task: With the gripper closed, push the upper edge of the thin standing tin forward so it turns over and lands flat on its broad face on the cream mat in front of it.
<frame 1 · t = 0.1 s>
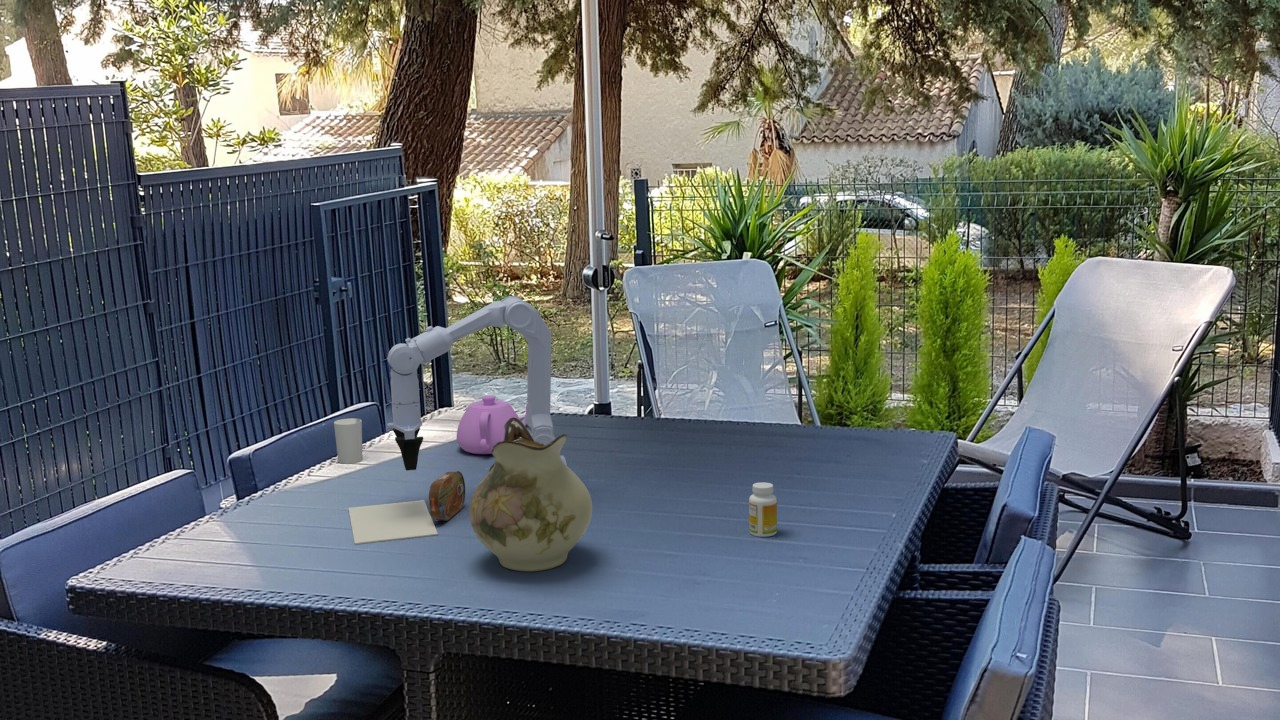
hand: (409, 465, 243), 10 cm above the table, tool pointing down, fingers open, 7 cm apart
mat: (391, 521, 239), on the table
tin: (447, 515, 242), on the table, touching mat
pitcher: (530, 560, 215), on the table
teapot: (500, 449, 295), on the table
supplement bottle: (763, 534, 227), on the table
drinking glass: (350, 461, 287), on the table
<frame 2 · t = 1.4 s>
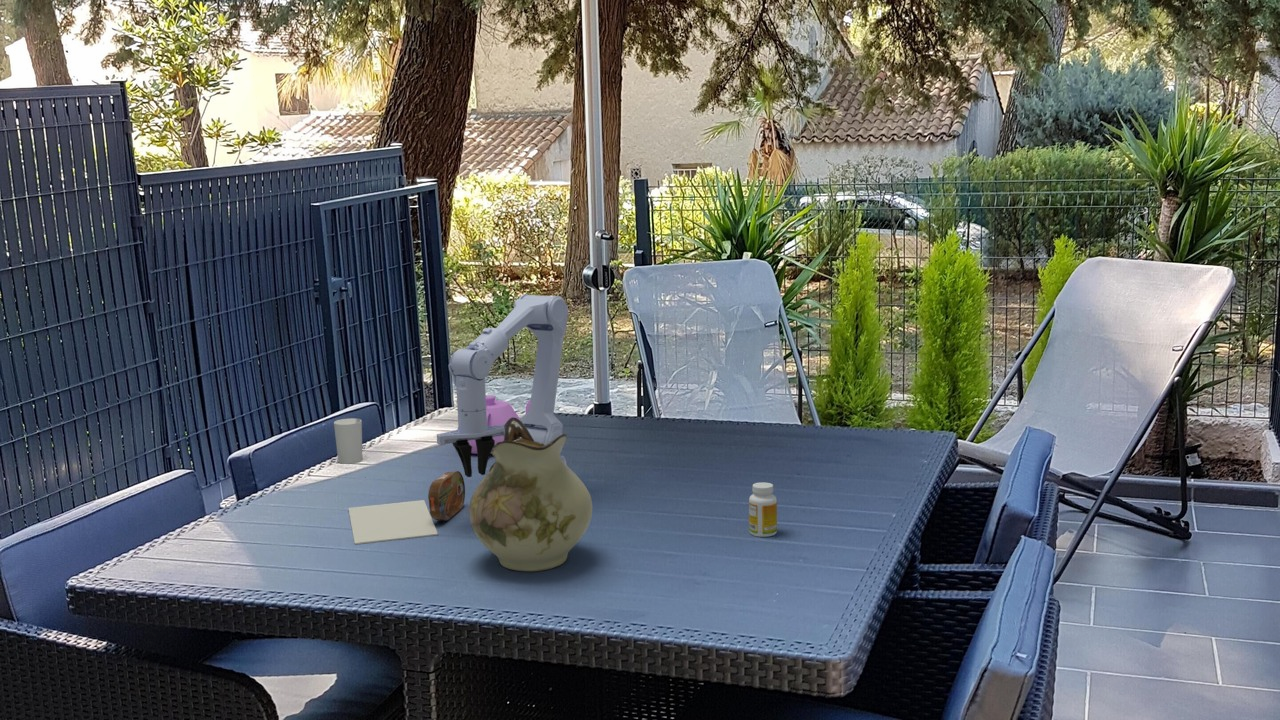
hand: (475, 474, 234), 10 cm above the table, tool pointing down, fingers closed
nothing on the table moved.
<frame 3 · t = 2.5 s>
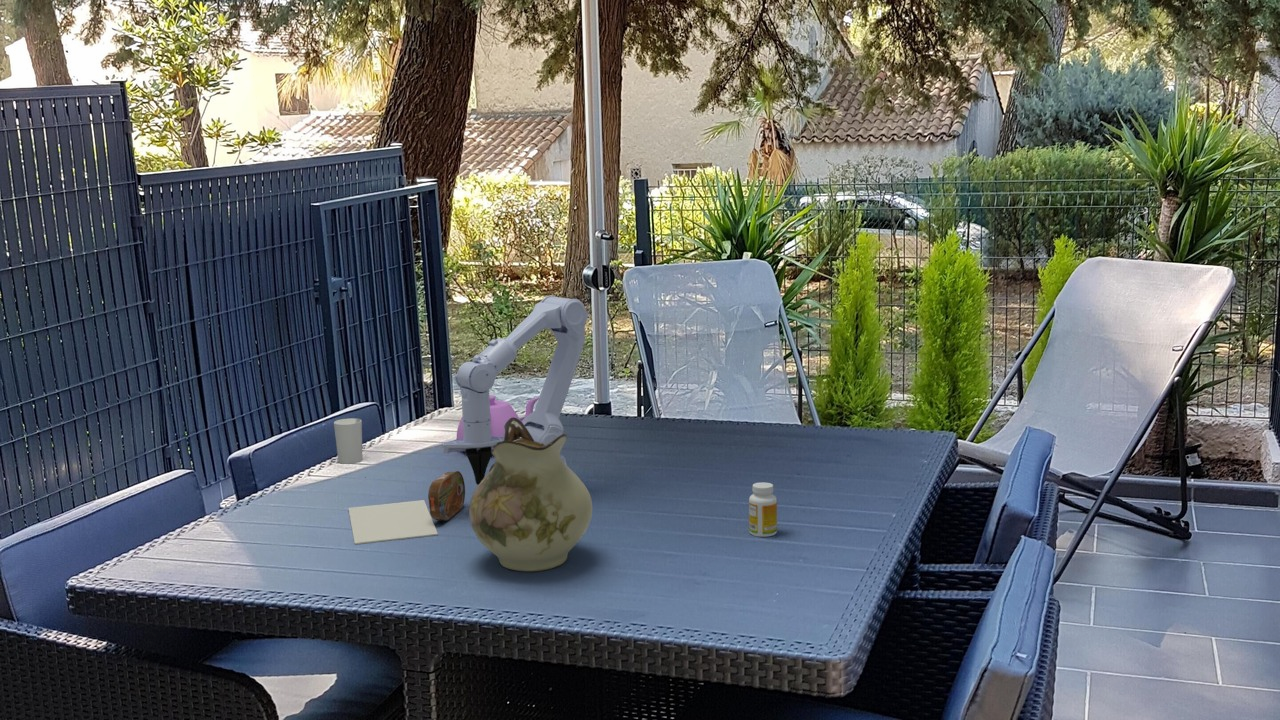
hand: (479, 483, 243), 6 cm above the table, tool pointing down, fingers closed
nothing on the table moved.
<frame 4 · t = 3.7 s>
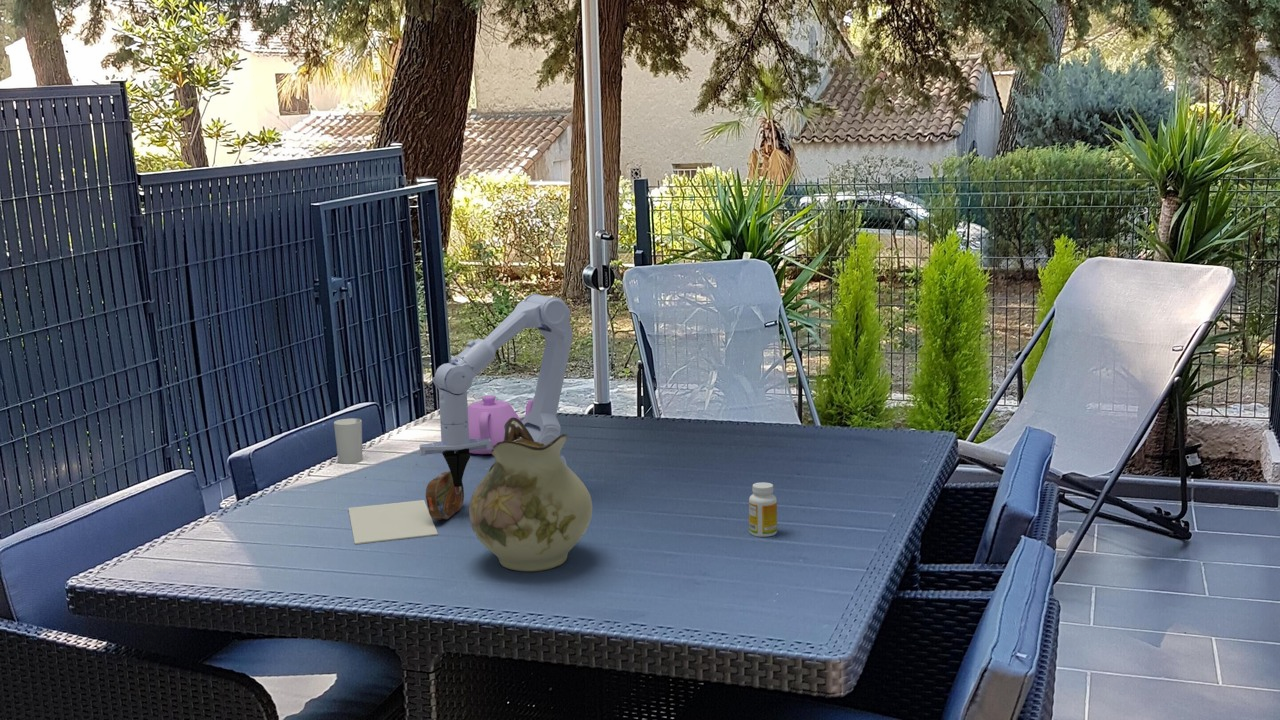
hand: (457, 485, 241), 6 cm above the table, tool pointing down, fingers closed
nothing on the table moved.
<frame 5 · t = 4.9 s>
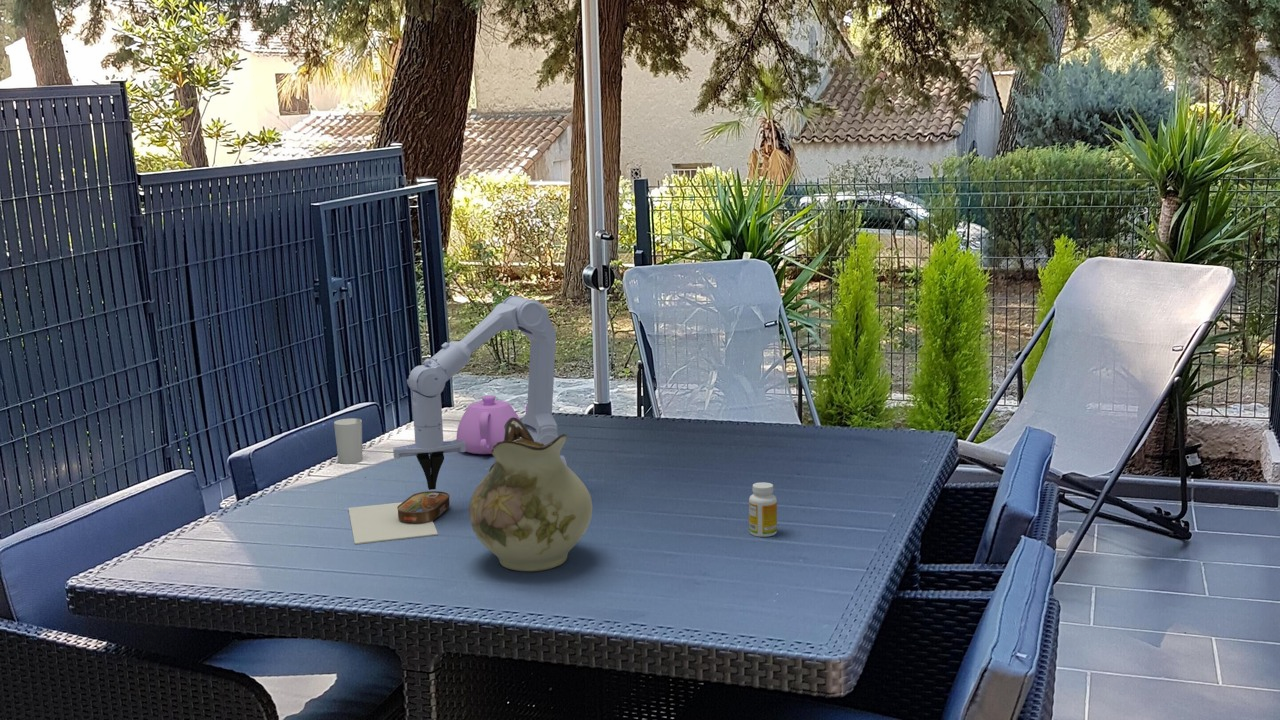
hand: (431, 488, 240), 6 cm above the table, tool pointing down, fingers closed
tin: (443, 509, 242), point 1 cm above the table, touching mat
everything else where it was.
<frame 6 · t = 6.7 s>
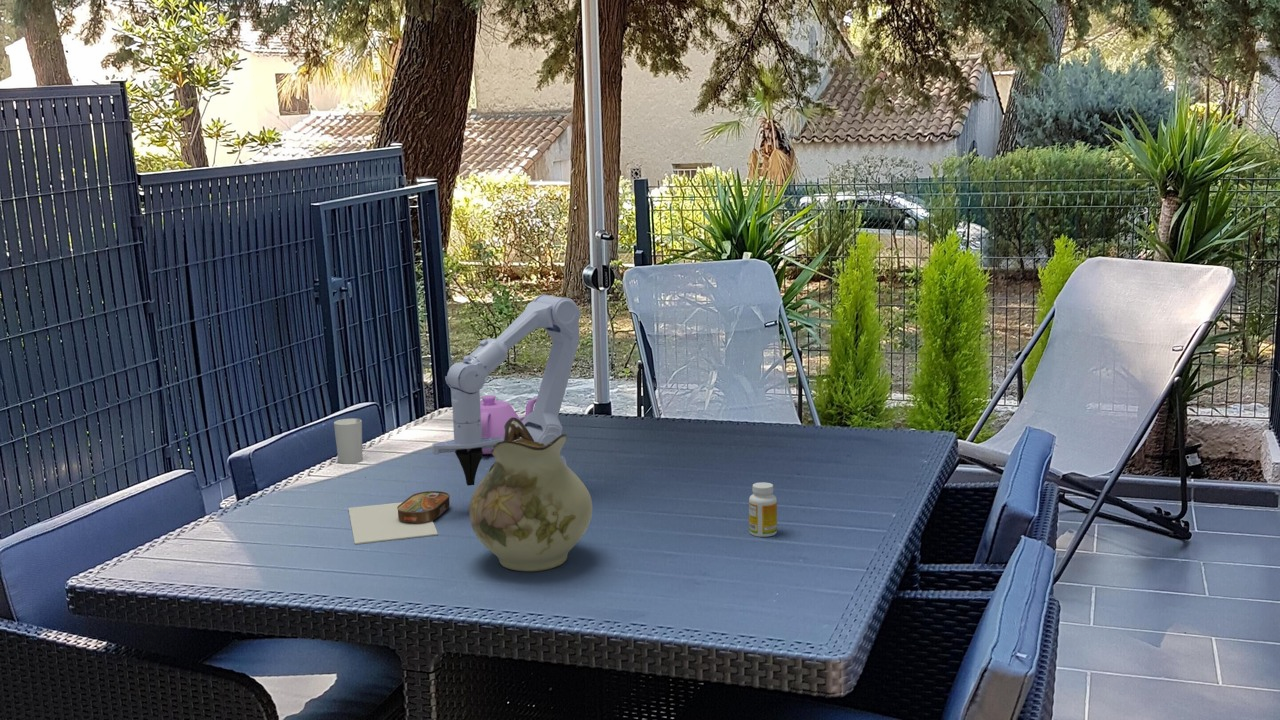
hand: (470, 484, 242), 6 cm above the table, tool pointing down, fingers closed
nothing on the table moved.
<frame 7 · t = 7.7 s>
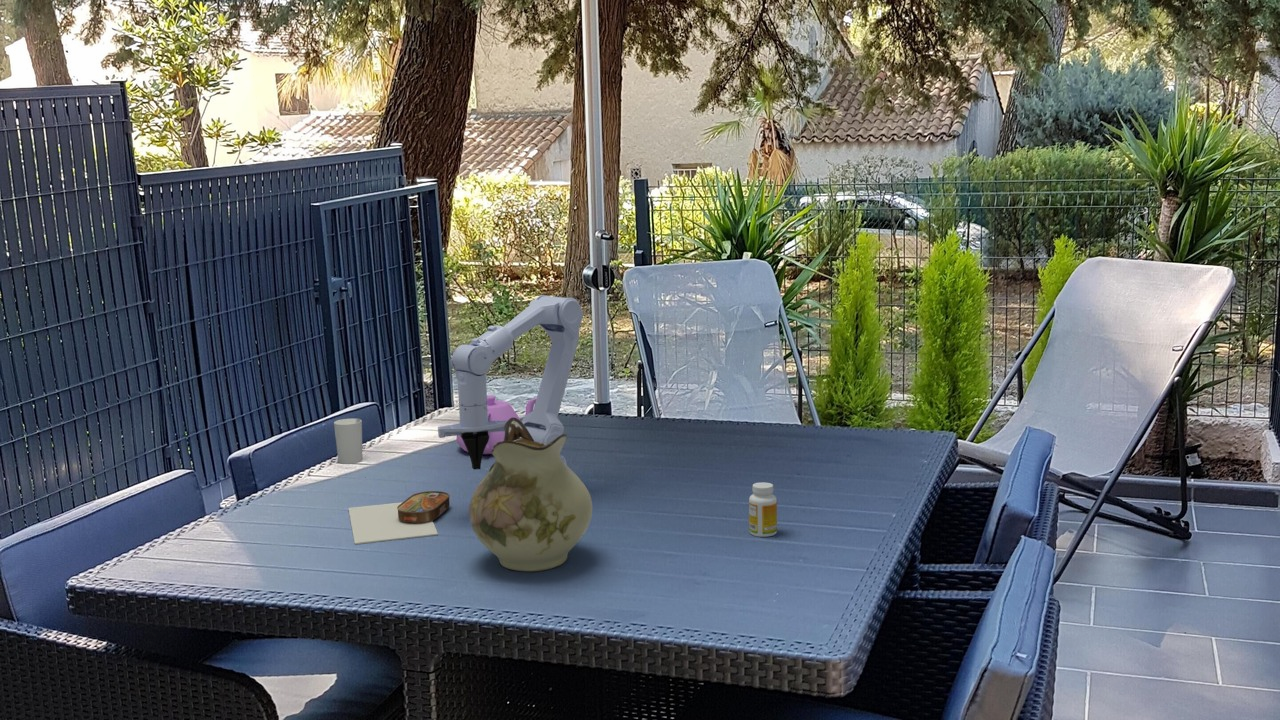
hand: (476, 468, 239), 10 cm above the table, tool pointing down, fingers closed
nothing on the table moved.
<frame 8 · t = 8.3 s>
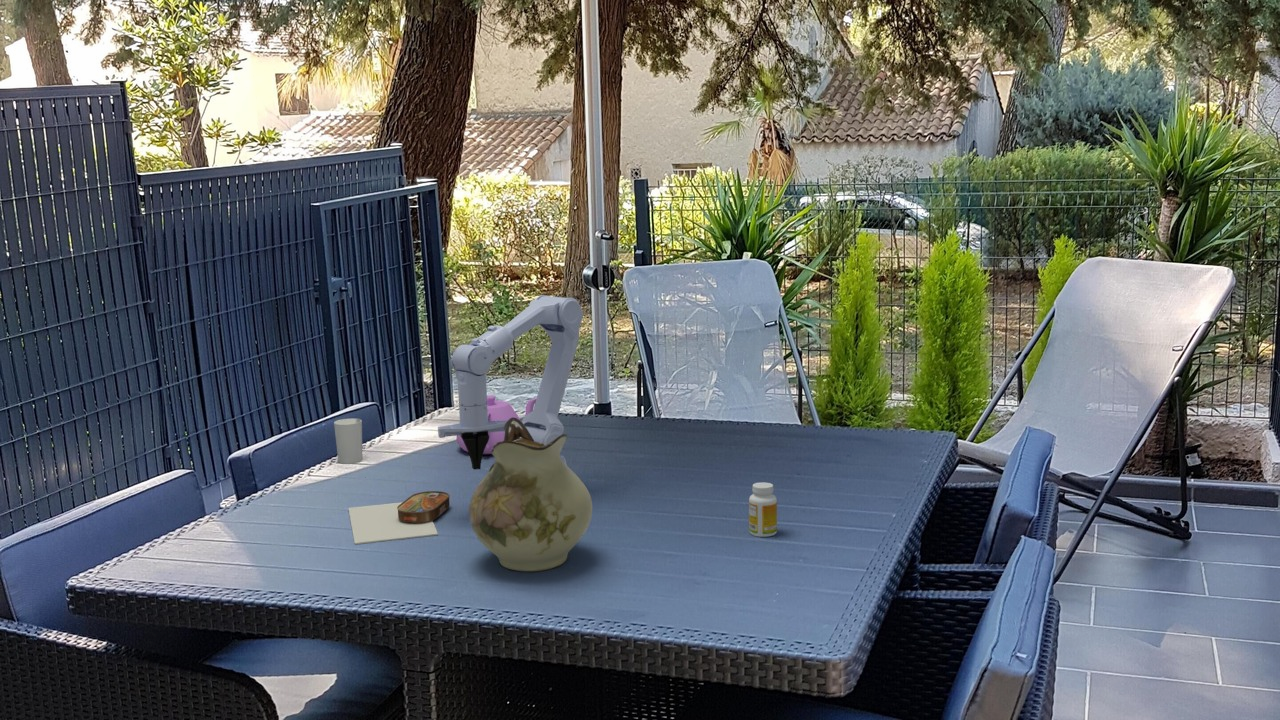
hand: (476, 468, 239), 10 cm above the table, tool pointing down, fingers closed
nothing on the table moved.
at the end: tin tilted 86°; tin inside the target area on the mat (9.3 cm from its centre), point 1.3 cm above the mat's base; the gripper is holding nothing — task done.
